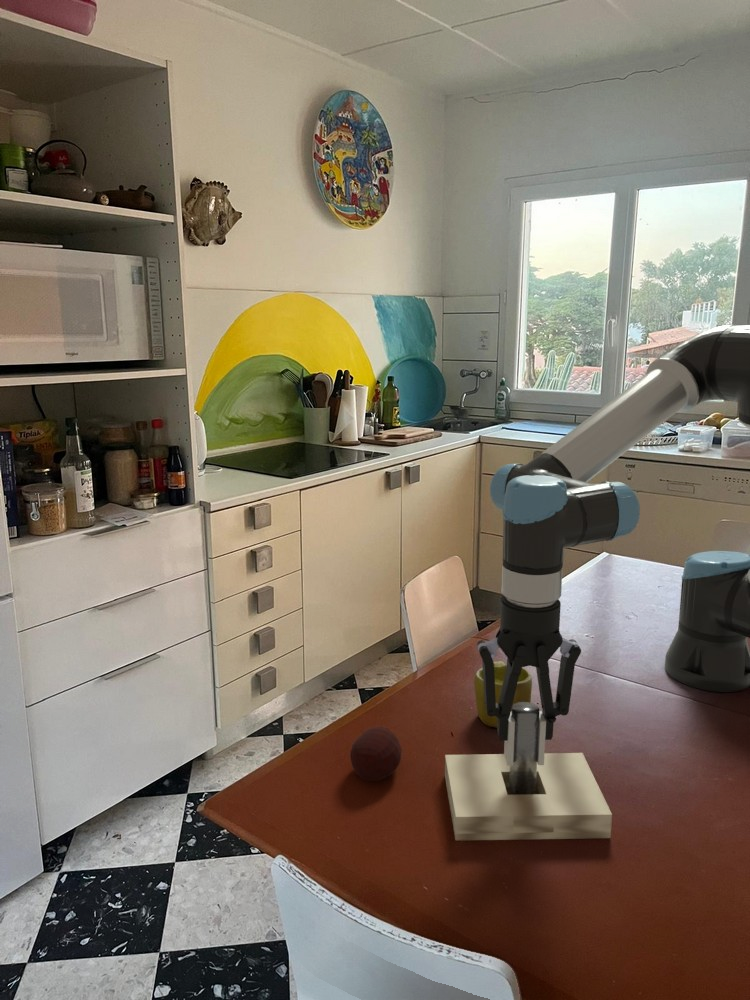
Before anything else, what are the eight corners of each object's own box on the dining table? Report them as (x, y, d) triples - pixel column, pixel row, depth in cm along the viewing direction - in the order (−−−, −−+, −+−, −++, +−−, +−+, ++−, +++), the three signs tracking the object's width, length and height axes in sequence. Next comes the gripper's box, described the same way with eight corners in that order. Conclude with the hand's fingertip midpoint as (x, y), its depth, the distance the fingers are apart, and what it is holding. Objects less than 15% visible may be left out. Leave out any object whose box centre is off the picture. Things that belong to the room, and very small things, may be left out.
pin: (532, 779, 107) (535, 701, 104) (538, 795, 103) (542, 715, 100) (506, 780, 107) (509, 702, 104) (512, 796, 103) (515, 715, 100)
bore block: (581, 774, 112) (582, 752, 112) (610, 838, 99) (612, 814, 98) (444, 776, 112) (445, 754, 111) (455, 840, 99) (455, 816, 98)
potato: (341, 785, 111) (340, 747, 109) (366, 748, 120) (365, 712, 118) (389, 795, 108) (388, 756, 107) (410, 757, 117) (410, 720, 116)
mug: (542, 729, 121) (524, 668, 121) (479, 741, 123) (462, 681, 124) (545, 706, 133) (529, 650, 133) (488, 717, 135) (473, 662, 136)
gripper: (587, 586, 102) (577, 743, 108) (462, 587, 102) (459, 745, 107) (603, 607, 95) (592, 775, 100) (470, 608, 94) (466, 776, 100)
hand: (523, 759), depth 104 cm, fingers closed on pin, 3 cm apart
